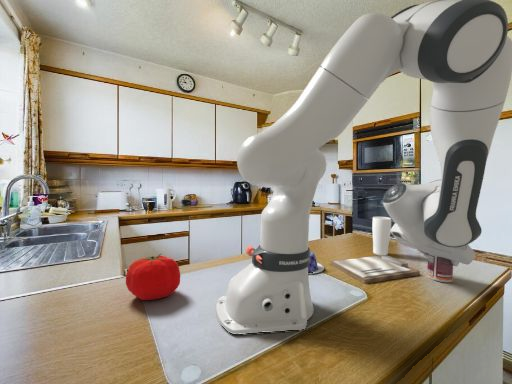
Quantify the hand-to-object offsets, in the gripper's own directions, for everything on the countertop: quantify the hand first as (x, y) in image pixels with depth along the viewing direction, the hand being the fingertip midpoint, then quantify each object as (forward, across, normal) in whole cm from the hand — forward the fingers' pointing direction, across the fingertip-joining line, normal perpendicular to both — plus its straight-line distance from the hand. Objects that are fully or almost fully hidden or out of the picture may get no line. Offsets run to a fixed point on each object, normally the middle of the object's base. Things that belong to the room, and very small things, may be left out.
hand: (441, 259), depth 72 cm
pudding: (-21, +20, +30) cm, 41 cm away
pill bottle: (+4, 0, +5) cm, 6 cm away
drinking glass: (+5, +24, +3) cm, 25 cm away
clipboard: (-6, +12, +14) cm, 20 cm away
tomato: (-54, +14, +63) cm, 84 cm away
